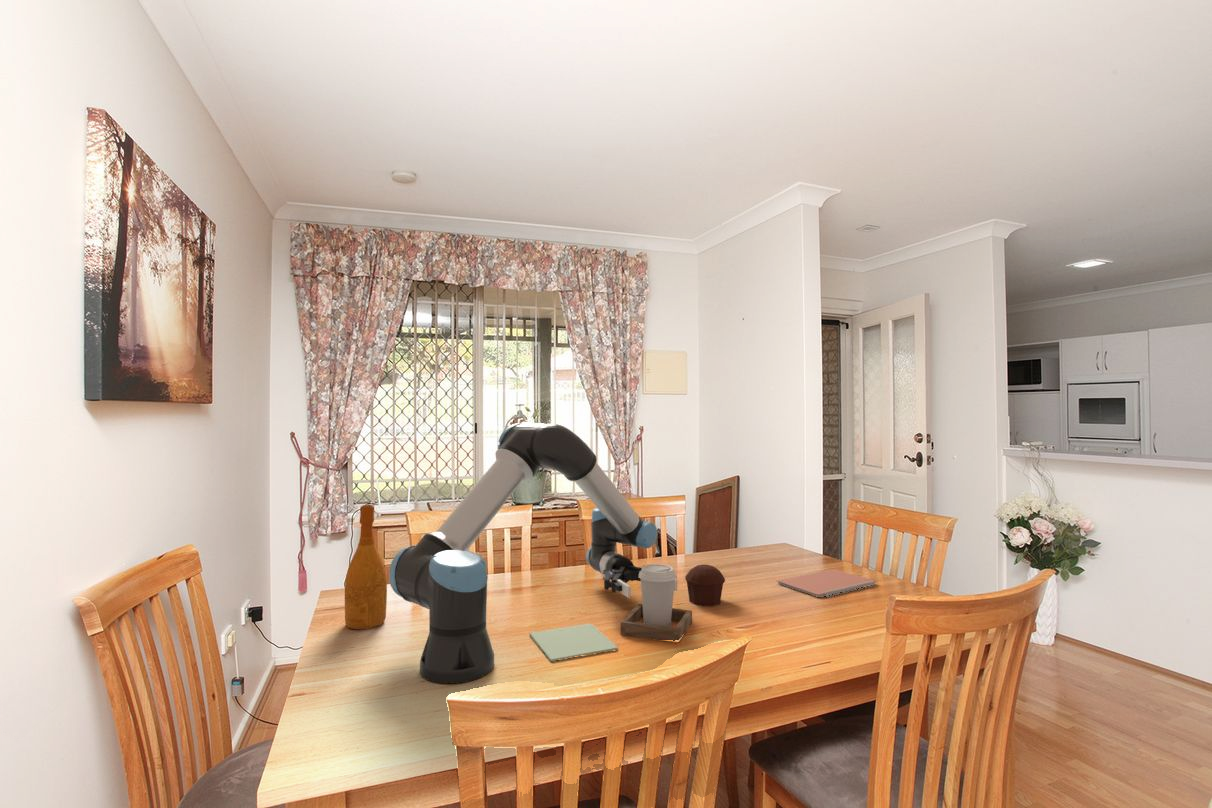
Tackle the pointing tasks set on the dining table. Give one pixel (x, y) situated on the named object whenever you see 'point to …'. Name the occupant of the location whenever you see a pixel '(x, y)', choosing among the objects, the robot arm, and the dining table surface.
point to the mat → (572, 641)
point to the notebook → (826, 582)
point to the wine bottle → (365, 580)
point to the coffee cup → (657, 593)
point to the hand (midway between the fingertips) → (653, 588)
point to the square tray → (654, 631)
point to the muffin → (705, 585)
